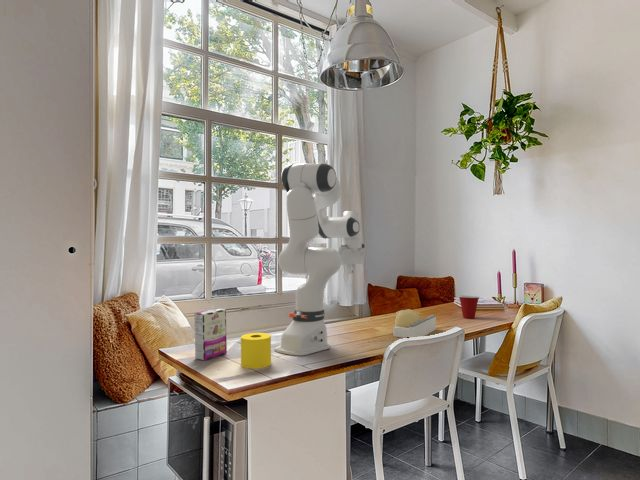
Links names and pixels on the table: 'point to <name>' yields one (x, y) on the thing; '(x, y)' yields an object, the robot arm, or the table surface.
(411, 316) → the sculpture
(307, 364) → the table surface
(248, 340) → the yellow toilet paper roll
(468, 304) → the plastic cup
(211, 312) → the candy bar box
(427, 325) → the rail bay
